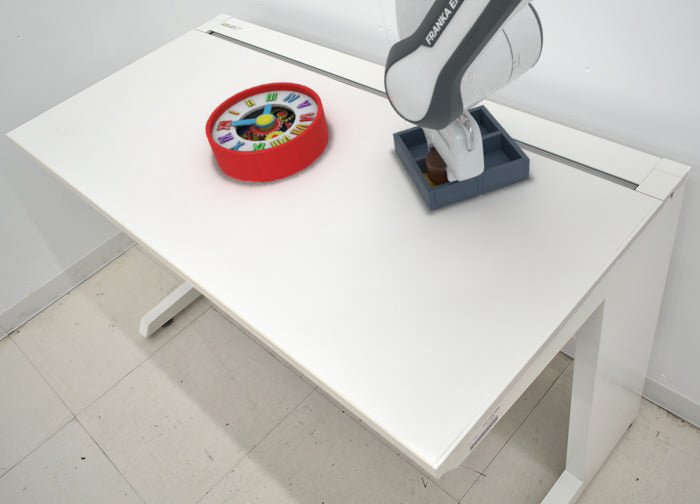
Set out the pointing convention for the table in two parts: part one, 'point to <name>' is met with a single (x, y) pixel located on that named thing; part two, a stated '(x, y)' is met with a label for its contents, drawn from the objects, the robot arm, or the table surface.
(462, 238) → the table surface
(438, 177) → the cylinder
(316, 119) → the toy clock
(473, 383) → the table surface
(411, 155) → the grid
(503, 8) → the robot arm
